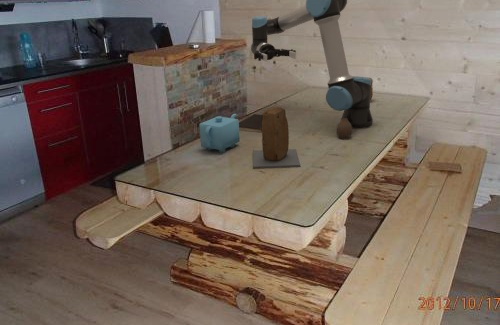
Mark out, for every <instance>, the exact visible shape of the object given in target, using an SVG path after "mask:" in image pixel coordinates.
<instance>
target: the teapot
mask: <svg viewBox="0 0 500 325" xmlns="http://www.w3.org/2000/svg"><path fill="white" fill-rule="evenodd" d="M236 116H237V113H233V114H232V115H231V116H230V117H224V116H221V115H219V116H215V117H213V118H211V119H208V120H206V121H204V122H200V123H199V124H198V125H199V137H200V146H201V147H202V148H206V150H208V151H211V150H218V153H225V152H226V149H228V148H232V149H233V148H235V144H238V143H239V142H240V130H239V122H240V121H239V119H238V118H236Z"/></svg>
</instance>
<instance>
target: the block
mask: <svg viewBox="0 0 500 325" xmlns="http://www.w3.org/2000/svg"><path fill="white" fill-rule="evenodd" d="M262 115H263V121H262V133H261V142H262V145H261V147H262V150H263V157H264V158H265V159H268V160H271V161H277V160H281V159H283V158H284V157H285V156H286V154H287V152H288V149H289V144H290V142H289V141H290V140H289V139H290V138H289V137H290V136H289V135H290V130H289V121H288V118H287V115H286V109H285V108H284V107H280V106H277V107H276V106H272V107H269V108H267V109H265V110H264V111H263V112H262Z"/></svg>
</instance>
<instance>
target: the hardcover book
mask: <svg viewBox="0 0 500 325" xmlns="http://www.w3.org/2000/svg"><path fill="white" fill-rule="evenodd" d="M262 121H263V114H257V113H253V114H252V115H250V116H248V117H247V118H244V119H243V120H241V121H239V131H245V132H255V133H261V134H262Z"/></svg>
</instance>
